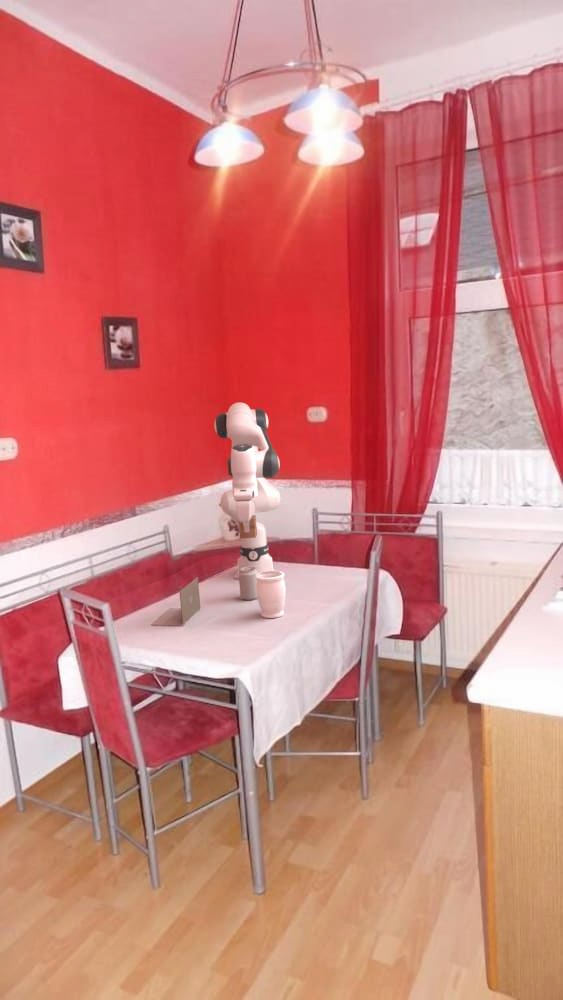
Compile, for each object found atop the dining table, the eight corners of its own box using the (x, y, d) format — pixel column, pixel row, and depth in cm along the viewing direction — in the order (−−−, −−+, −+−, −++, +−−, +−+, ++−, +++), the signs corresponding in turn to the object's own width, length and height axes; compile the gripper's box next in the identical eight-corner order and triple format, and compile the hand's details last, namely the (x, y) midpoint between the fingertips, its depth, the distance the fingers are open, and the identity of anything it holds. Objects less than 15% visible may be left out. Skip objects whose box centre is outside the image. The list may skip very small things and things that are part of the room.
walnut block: (241, 535, 256) (240, 515, 255) (257, 534, 255) (255, 515, 254) (240, 538, 250) (238, 518, 249) (255, 537, 250) (254, 518, 249)
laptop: (169, 610, 271) (166, 576, 268) (201, 610, 268) (198, 576, 265) (150, 626, 253) (147, 591, 251) (183, 627, 250) (180, 591, 248)
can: (257, 601, 274) (255, 570, 272) (238, 601, 275) (236, 571, 273) (261, 595, 281) (259, 565, 279) (243, 595, 282) (241, 565, 280)
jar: (284, 619, 251) (281, 578, 248) (255, 619, 253) (252, 578, 250) (289, 609, 261) (286, 570, 258) (261, 610, 263) (258, 570, 260)
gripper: (239, 487, 261) (242, 524, 263) (232, 496, 241) (235, 536, 243) (257, 486, 260) (259, 523, 263) (251, 495, 240) (254, 535, 242)
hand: (248, 529), depth 253 cm, fingers closed on walnut block, 5 cm apart
